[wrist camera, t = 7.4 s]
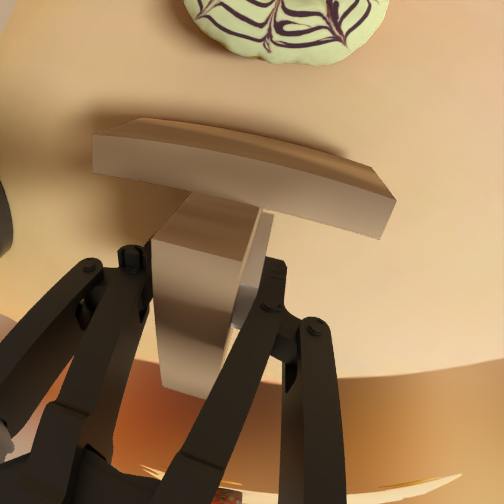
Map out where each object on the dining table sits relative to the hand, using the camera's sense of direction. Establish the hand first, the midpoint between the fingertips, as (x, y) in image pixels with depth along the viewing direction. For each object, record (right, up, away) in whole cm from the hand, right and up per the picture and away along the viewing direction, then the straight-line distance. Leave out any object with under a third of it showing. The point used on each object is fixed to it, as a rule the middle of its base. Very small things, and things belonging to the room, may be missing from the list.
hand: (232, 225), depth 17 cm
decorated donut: (+3, +14, -6) cm, 15 cm away
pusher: (0, 0, +1) cm, 1 cm away
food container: (-10, -113, +80) cm, 139 cm away
